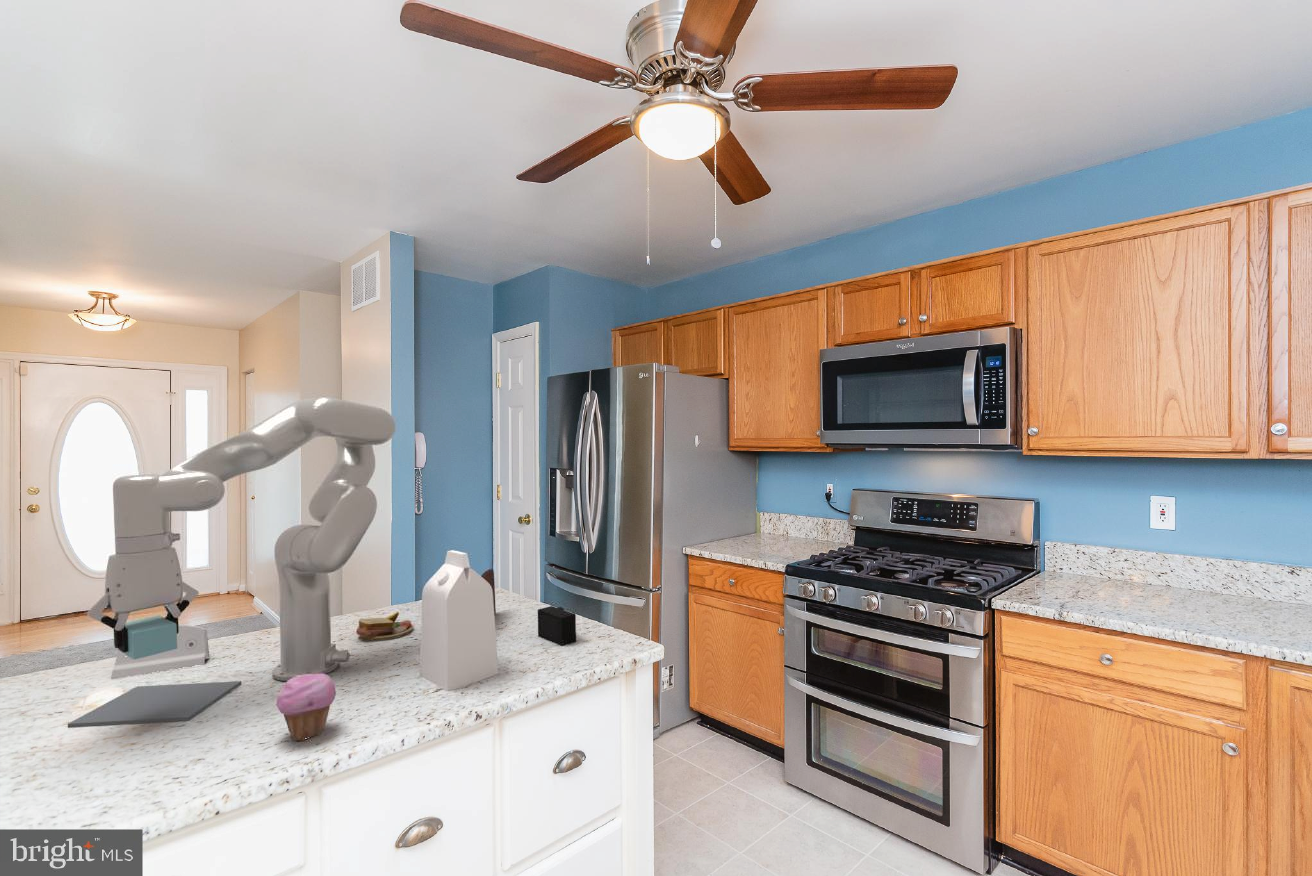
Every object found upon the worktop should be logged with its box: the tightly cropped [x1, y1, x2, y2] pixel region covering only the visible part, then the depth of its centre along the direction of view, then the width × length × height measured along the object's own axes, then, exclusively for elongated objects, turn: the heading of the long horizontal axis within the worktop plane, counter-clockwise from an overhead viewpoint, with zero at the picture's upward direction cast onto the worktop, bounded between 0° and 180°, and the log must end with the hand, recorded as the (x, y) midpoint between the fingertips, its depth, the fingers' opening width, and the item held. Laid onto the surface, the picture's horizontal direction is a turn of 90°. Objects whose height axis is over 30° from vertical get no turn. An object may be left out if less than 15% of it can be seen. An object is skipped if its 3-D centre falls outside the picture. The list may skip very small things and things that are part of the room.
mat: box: [67, 680, 242, 728], centre depth 115 cm, size 20×16×1 cm
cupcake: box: [276, 673, 336, 742], centre depth 102 cm, size 9×9×10 cm
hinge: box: [111, 624, 211, 680], centre depth 134 cm, size 17×5×10 cm, turn 116°
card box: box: [117, 615, 177, 660], centre depth 107 cm, size 6×9×4 cm, turn 55°
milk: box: [419, 549, 499, 692], centre depth 127 cm, size 12×12×26 cm
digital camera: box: [537, 605, 577, 647], centre depth 149 cm, size 10×5×7 cm, turn 44°
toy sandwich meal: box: [356, 611, 414, 641], centre depth 155 cm, size 12×14×5 cm
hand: (147, 643), depth 107 cm, fingers closed on card box, 6 cm apart
